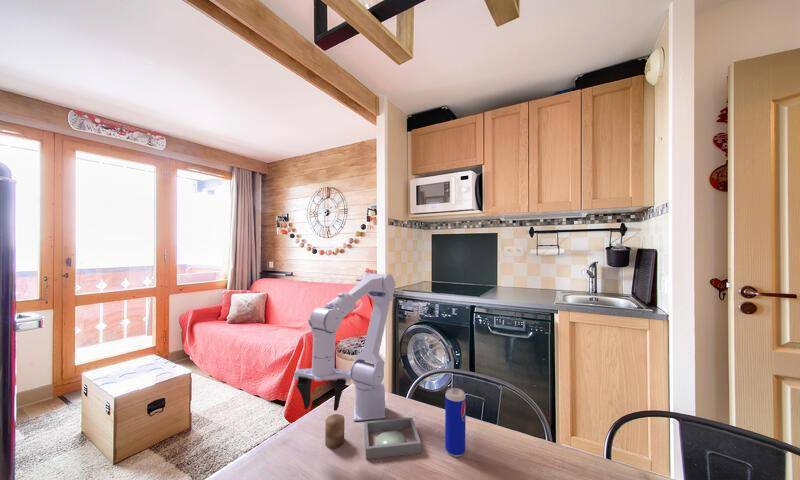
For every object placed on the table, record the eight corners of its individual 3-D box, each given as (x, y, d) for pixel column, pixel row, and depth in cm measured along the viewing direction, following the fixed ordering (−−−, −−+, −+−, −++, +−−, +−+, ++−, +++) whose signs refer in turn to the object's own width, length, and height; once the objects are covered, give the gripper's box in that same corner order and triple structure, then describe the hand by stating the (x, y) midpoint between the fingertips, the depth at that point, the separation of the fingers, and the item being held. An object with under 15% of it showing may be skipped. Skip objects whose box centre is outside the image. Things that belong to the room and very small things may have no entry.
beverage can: (465, 459, 71) (465, 398, 71) (444, 456, 72) (444, 396, 72) (465, 445, 76) (465, 388, 76) (445, 442, 77) (445, 386, 77)
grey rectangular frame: (412, 425, 84) (412, 417, 84) (420, 452, 73) (420, 443, 73) (364, 430, 82) (364, 421, 82) (365, 459, 71) (365, 449, 71)
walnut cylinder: (344, 434, 80) (344, 413, 80) (344, 447, 75) (344, 424, 75) (326, 436, 79) (326, 414, 79) (324, 449, 74) (324, 426, 74)
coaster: (402, 430, 82) (402, 429, 82) (407, 449, 74) (407, 448, 74) (375, 433, 81) (375, 431, 81) (378, 452, 73) (378, 451, 73)
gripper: (290, 359, 71) (287, 415, 70) (347, 361, 70) (345, 418, 70) (301, 349, 78) (298, 400, 77) (353, 351, 77) (351, 403, 77)
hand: (321, 407), depth 74 cm, fingers open, 7 cm apart
